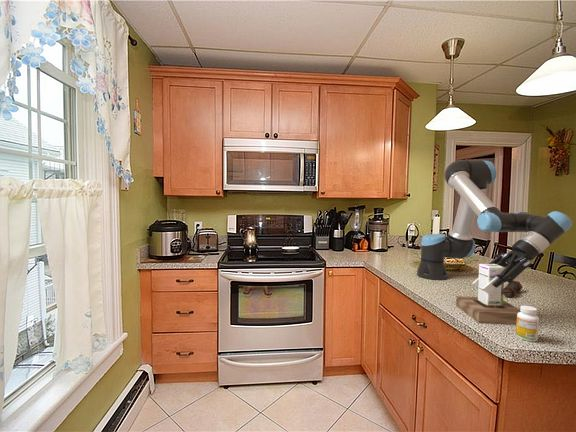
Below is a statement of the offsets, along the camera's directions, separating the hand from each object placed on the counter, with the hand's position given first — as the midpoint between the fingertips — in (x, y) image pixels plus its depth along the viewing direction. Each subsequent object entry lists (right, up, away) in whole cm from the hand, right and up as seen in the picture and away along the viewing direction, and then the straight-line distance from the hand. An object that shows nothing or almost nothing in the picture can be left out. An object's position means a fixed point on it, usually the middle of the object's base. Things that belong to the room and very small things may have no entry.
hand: (480, 288), depth 109 cm
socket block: (+3, -10, 0) cm, 11 cm away
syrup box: (+4, -6, 0) cm, 7 cm away
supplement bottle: (+3, -11, -18) cm, 21 cm away
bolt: (+30, -9, +24) cm, 40 cm away
